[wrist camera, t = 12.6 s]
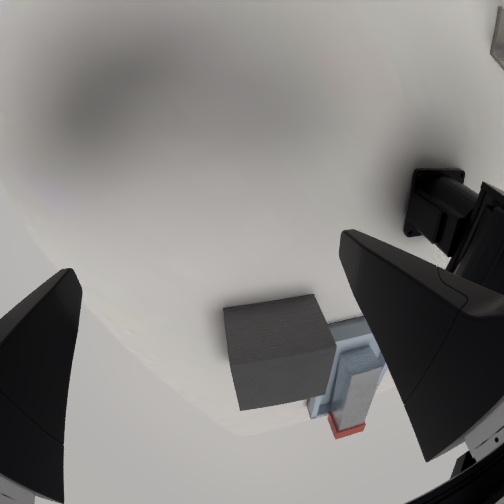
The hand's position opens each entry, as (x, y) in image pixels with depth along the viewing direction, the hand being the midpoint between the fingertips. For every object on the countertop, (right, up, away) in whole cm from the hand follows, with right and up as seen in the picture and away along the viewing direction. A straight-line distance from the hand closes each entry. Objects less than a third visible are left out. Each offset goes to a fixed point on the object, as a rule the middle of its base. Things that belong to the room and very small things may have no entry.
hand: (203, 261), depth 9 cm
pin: (+14, -18, +26) cm, 35 cm away
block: (+3, -8, +20) cm, 22 cm away
